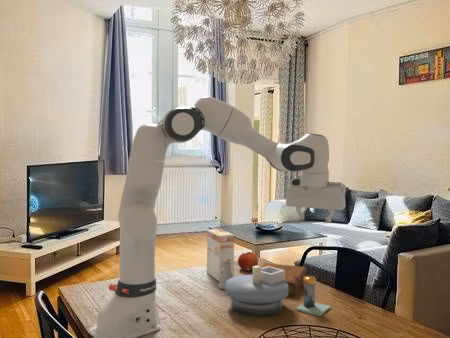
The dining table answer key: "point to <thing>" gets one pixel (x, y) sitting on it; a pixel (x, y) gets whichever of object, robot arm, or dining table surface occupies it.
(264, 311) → the base
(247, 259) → the tomato
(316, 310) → the mat
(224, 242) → the coffeecake box
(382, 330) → the dining table surface
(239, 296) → the dial
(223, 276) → the flask
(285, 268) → the diary
